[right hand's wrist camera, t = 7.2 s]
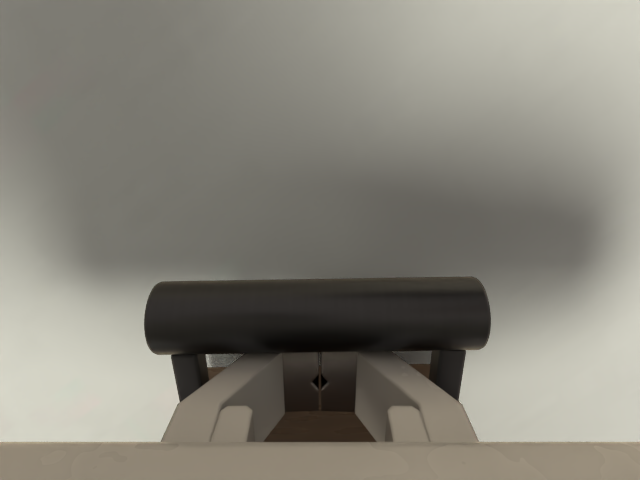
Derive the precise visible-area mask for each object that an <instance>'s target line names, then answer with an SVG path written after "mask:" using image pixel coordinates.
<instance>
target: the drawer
mask: <svg viewBox="0 0 640 480" xmlns="http://www.w3.org/2000/svg"><path fill="white" fill-rule="evenodd" d="M490 326H491V316H490V307H489V302H488V298H487V294H486V291H485V289H484V287H483V285H482V284H481V282H480V281H479V280H478V279H477V278H474V277H416V278H354V279H291V280H228V281H165V282H160V283H158V284H156V285H155V286H154V288H153V289H152V291H151V293H150V295H149V298H148V301H147V305H146V310H145V318H144V329H145V337H146V341H147V344H148V347H149V349H150V350H151V351H152V352H153V353H155V354H157V355H171V359H172V364H173V369H174V374H175V379H176V384H177V389H178V394H179V399H180V402H181V401H183V400H184V399H185V398H187V397H188V396H189V395H191V394H192V393H193V392H195V391H196V390H197V389H199V388H200V387H201V386H203V385H204V384H205V383H207V382H208V381H209V380H211V379H212V378H213V377H215V376H216V375H217V374H219V373H220V372H221V371H223V370H224V369H225V368H227V367H207V363H206V356H205V354H238V353H302V352H366V351H431V350H432V356H431V364H409V365H410V366H412V367H413V368H414V369H416V370H417V371H418V372H420V373H421V374H422V375H424V376H425V377H426V378H428V379H429V380H430V381H432V382H433V383H434V384H436V385H437V386H438V387H440V388H441V389H442V390H444V391H445V392H446V393H448V394H449V395H450V396H452V397H453V398H454V399H456V400H457V401H458V402H459V400H458V399H459V393H460V386H461V380H462V374H463V367H464V361H465V354H466V350H479V349H481V348H483V347H484V346H485V345H486V343H487V341H488V338H489V334H490ZM264 442H376V440H375V439H374V438H373V436H372V435H371V434H370V432H369V431H368V430H367V429H366V427H365V426H364V425H363V423H362V422H361V421H360V419H359V418H358V417H357V416H356V414H355V412H342V411H321V366H319V411H297V412H285V414H284V416H283V417H282V418H281V420H280V421H279V422H278V423H277V425H276V426H275V427H274V429H273V430H272V431H271V432H270V434H269V435H268V436H267V438H266V439H265V440H264Z"/></svg>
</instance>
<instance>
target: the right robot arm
mask: <svg viewBox="0 0 640 480" xmlns="http://www.w3.org/2000/svg"><path fill="white" fill-rule="evenodd" d="M297 411H319V352H302V353H245V354H244V355H243V356H241V357H240V358H239V359H237V360H236V361H235V362H233V363H232V364H231V365H229V366H228V367H227V368H225V369H224V370H223V371H221V372H220V373H219V374H217V375H216V376H215V377H213V378H212V379H211V380H209V381H208V382H207V383H205V384H204V385H203V386H201V387H200V388H199V389H197V390H196V391H195V392H193V393H192V394H191V395H189V396H188V397H187V398H185V399H184V400H183V401H181V402H180V403H179V404H178V405H177V407H176V409H175V411H174V414H173V416H172V418H171V420H170V422H169V425H168V427H167V429H166V431H165V433H164V436H163V438H162V440H161V442H0V480H640V442H479V441H478V438H477V436H476V434H475V432H474V430H473V427H472V425H471V423H470V421H469V418H468V416H467V414H466V412H465V409H464V407H463V405H462V404H461V403H460V402H458V401H457V400H456V399H454V398H453V397H452V396H450V395H449V394H448V393H446V392H445V391H444V390H442V389H441V388H440V387H438V386H437V385H436V384H434V383H433V382H432V381H430V380H429V379H428V378H426V377H425V376H424V375H422V374H421V373H420V372H418V371H417V370H416V369H414V368H413V367H412V366H410V365H409V364H408V363H406V362H405V361H404V360H402V359H401V358H400V357H398V356H397V355H396V354H394V353H393V352H392V351H366V352H321V411H342V412H355V414H356V416H357V417H358V418H359V419H360V421H361V422H362V423H363V425H364V426H365V427H366V429H367V430H368V431H369V432H370V434H371V435H372V436H373V438H374V439H375V440H376V442H264V440H265V439H266V438H267V436H268V435H269V434H270V432H271V431H272V430H273V429H274V427H275V426H276V425H277V423H278V422H279V421H280V420H281V418H282V417H283V416H284V414H285V412H297Z"/></svg>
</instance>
